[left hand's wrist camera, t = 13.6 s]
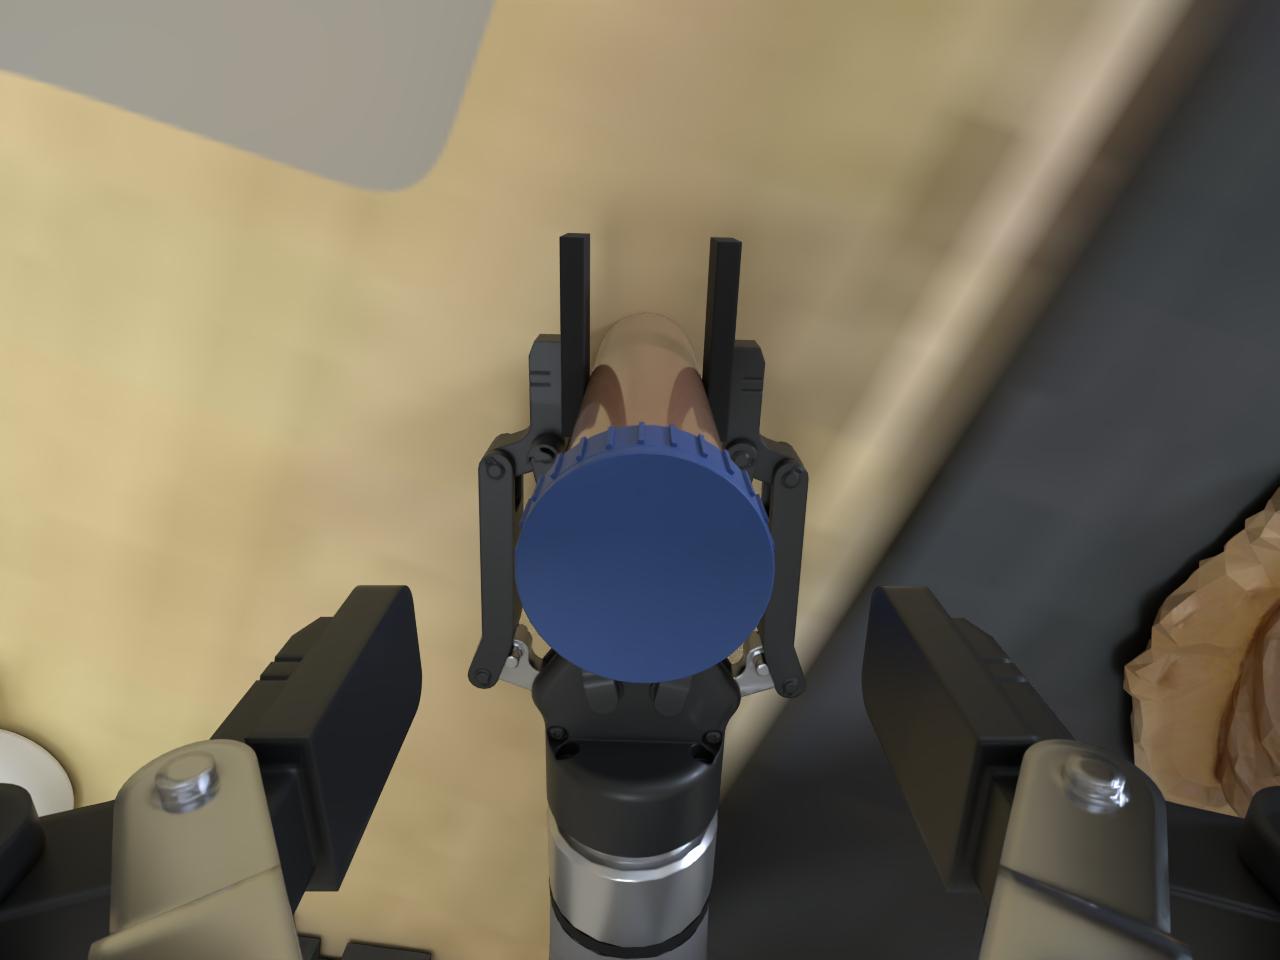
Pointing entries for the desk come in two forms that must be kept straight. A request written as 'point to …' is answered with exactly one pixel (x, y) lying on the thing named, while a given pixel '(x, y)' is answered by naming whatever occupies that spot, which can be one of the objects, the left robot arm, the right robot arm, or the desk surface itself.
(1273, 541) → the sculpture
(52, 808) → the mug
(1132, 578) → the desk surface
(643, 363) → the brown cylindrical tube
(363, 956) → the abstract sculpture
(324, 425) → the desk surface
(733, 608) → the lid
